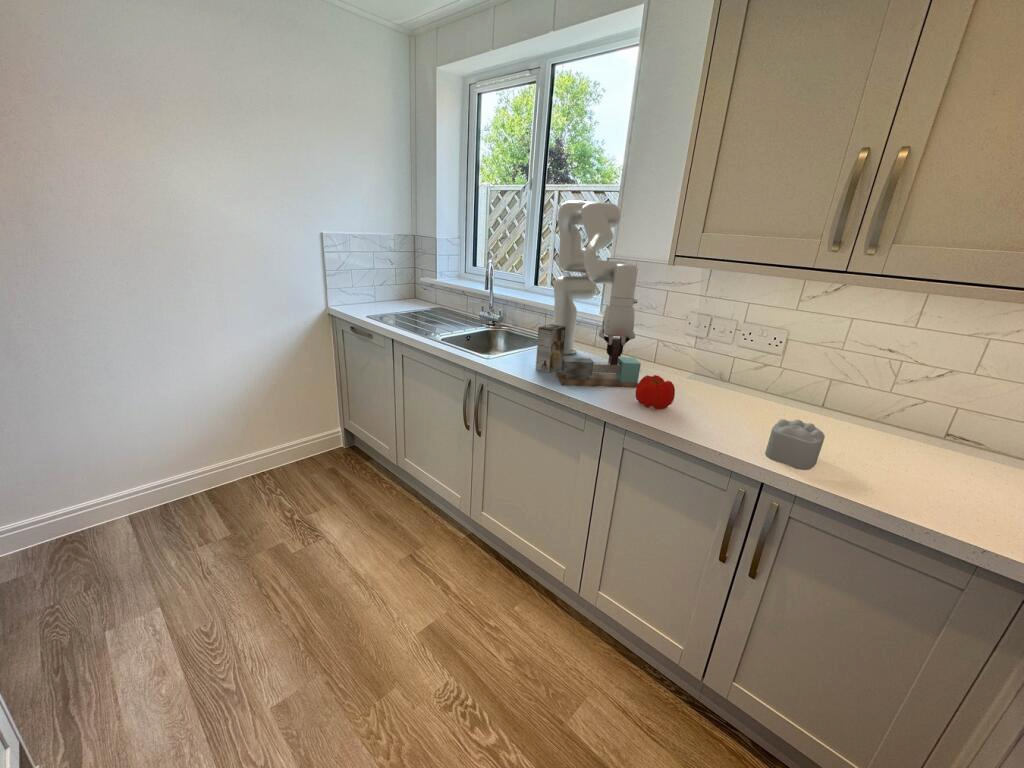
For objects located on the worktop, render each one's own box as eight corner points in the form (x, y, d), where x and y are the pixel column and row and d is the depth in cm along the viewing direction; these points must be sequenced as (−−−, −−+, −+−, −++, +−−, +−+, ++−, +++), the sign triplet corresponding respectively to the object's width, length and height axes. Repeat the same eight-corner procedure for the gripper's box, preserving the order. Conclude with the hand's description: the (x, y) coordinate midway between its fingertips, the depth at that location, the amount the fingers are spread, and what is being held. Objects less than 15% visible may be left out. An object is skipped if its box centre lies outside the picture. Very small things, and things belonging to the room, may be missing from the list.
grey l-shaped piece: (584, 372, 154) (589, 338, 150) (583, 369, 157) (587, 336, 153) (630, 374, 155) (635, 340, 151) (627, 371, 158) (632, 338, 154)
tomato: (627, 400, 141) (631, 373, 138) (660, 399, 144) (665, 372, 141) (644, 414, 131) (649, 385, 128) (680, 412, 134) (685, 383, 131)
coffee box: (548, 364, 172) (551, 323, 167) (562, 368, 169) (566, 326, 164) (534, 369, 166) (538, 326, 160) (549, 373, 162) (553, 330, 157)
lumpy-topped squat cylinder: (760, 455, 110) (769, 424, 107) (777, 441, 119) (786, 411, 116) (808, 473, 103) (818, 439, 100) (822, 456, 112) (832, 425, 109)
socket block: (620, 382, 154) (623, 362, 152) (615, 375, 160) (617, 357, 158) (637, 382, 154) (640, 363, 152) (631, 376, 161) (634, 357, 159)
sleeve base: (561, 385, 150) (563, 364, 148) (556, 373, 162) (558, 354, 159) (639, 388, 152) (642, 367, 150) (629, 376, 164) (632, 357, 161)
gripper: (641, 301, 152) (633, 353, 158) (594, 299, 151) (588, 351, 157) (648, 305, 145) (640, 359, 151) (600, 303, 144) (593, 357, 150)
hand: (613, 355), depth 154 cm, fingers closed on grey l-shaped piece, 2 cm apart
